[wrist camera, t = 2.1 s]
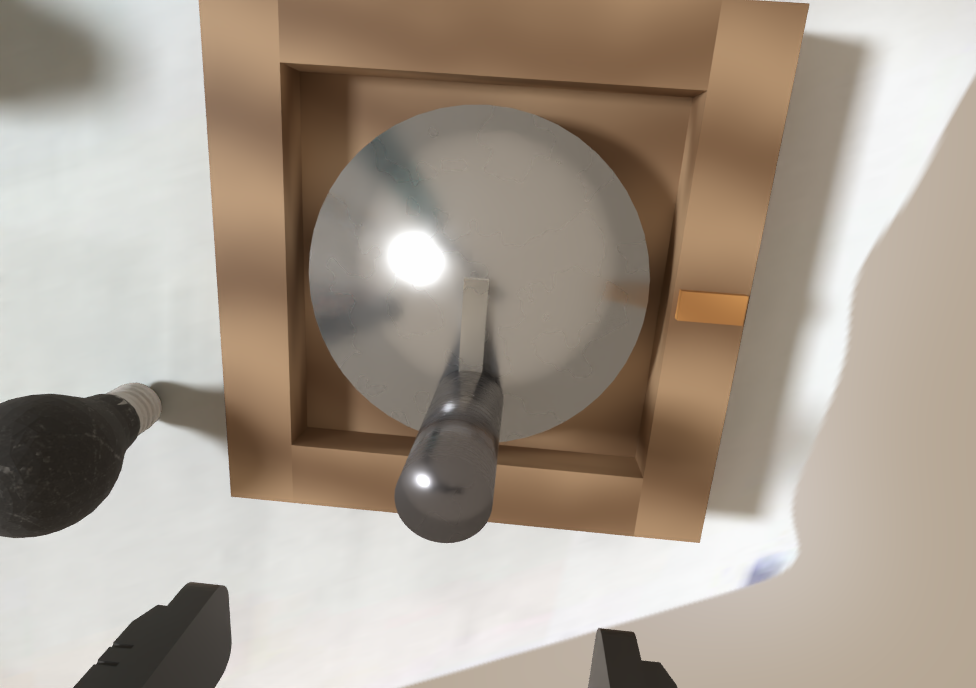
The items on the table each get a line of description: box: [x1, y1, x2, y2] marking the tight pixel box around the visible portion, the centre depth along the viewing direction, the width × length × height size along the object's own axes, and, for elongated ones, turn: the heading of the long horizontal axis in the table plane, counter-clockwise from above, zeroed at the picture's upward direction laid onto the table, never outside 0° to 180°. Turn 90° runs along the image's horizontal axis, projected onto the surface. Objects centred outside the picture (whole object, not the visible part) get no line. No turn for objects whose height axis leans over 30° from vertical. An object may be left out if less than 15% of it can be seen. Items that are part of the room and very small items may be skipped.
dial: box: [309, 105, 650, 543], centre depth 21 cm, size 14×14×10 cm
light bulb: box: [0, 383, 162, 538], centre depth 25 cm, size 6×6×10 cm
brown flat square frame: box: [199, 0, 809, 543], centre depth 25 cm, size 22×22×4 cm
